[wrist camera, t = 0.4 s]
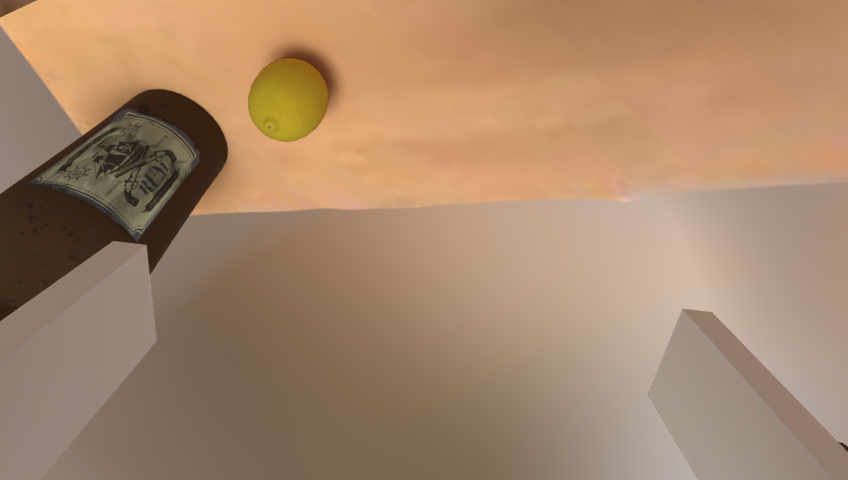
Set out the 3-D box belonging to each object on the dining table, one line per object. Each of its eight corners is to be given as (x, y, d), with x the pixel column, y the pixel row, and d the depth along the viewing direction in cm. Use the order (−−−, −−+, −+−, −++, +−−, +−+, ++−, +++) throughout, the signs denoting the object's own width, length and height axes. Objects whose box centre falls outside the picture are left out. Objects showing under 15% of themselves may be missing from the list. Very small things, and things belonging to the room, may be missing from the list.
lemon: (265, 42, 39) (219, 90, 33) (332, 41, 38) (297, 90, 32) (284, 107, 43) (245, 159, 37) (346, 107, 42) (316, 161, 36)
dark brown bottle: (214, 198, 52) (45, 427, 34) (112, 139, 48) (-136, 358, 30) (251, 130, 45) (65, 371, 27) (136, 57, 42) (-163, 275, 24)
